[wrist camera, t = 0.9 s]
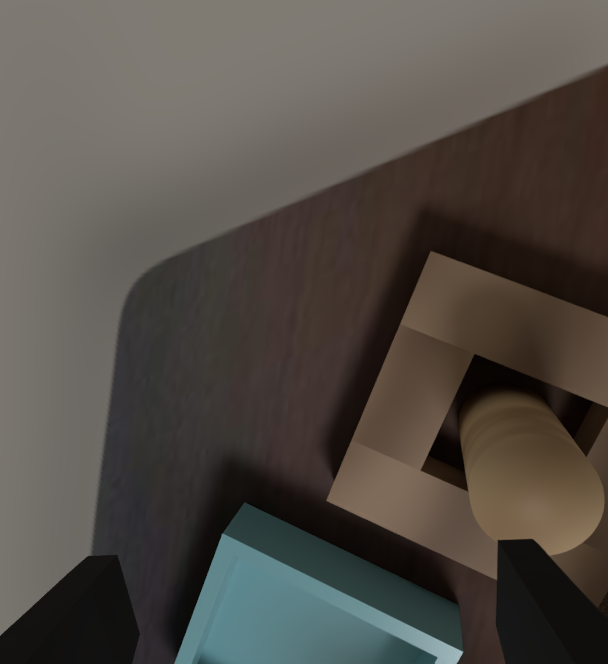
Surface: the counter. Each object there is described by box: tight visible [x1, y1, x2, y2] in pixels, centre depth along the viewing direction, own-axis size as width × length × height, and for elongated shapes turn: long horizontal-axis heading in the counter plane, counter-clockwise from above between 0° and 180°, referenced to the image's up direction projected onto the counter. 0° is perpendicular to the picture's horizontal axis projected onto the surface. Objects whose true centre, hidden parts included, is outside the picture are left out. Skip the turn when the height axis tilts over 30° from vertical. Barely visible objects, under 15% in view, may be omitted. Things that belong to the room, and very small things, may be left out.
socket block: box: [326, 251, 608, 608], centre depth 22 cm, size 12×12×2 cm
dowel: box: [458, 382, 605, 556], centre depth 20 cm, size 4×4×7 cm
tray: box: [175, 502, 463, 664], centre depth 26 cm, size 12×12×3 cm
